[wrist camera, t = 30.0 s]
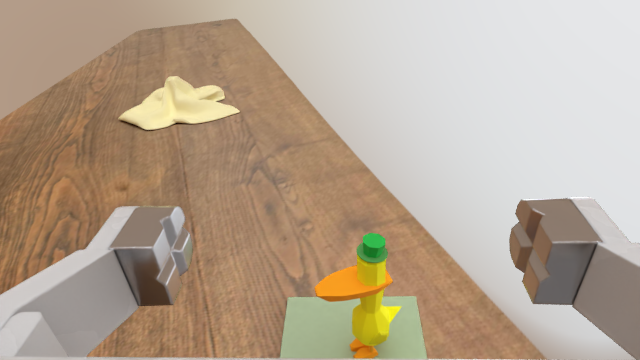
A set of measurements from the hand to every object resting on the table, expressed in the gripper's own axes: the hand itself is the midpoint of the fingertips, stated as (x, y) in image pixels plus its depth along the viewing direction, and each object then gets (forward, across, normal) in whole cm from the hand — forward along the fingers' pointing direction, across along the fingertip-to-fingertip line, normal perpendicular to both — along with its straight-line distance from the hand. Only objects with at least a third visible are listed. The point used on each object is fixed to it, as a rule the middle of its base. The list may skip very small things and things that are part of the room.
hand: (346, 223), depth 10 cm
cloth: (+66, +31, +25) cm, 77 cm away
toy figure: (+13, -1, +25) cm, 28 cm away
